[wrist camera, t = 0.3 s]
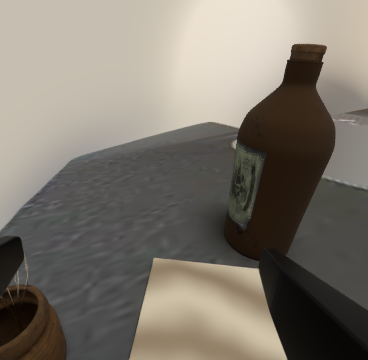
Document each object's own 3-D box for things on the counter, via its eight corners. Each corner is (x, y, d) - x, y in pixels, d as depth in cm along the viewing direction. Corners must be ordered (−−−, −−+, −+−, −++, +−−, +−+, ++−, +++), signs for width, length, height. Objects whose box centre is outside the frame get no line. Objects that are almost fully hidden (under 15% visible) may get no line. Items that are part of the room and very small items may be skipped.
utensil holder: (75, 325, 22) (50, 224, 16) (54, 417, 16) (4, 311, 10) (4, 335, 20) (-50, 230, 15) (-44, 436, 15) (-159, 331, 9)
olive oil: (271, 215, 40) (321, 51, 28) (308, 262, 31) (406, 48, 19) (212, 217, 38) (240, 43, 27) (233, 268, 29) (290, 35, 17)
